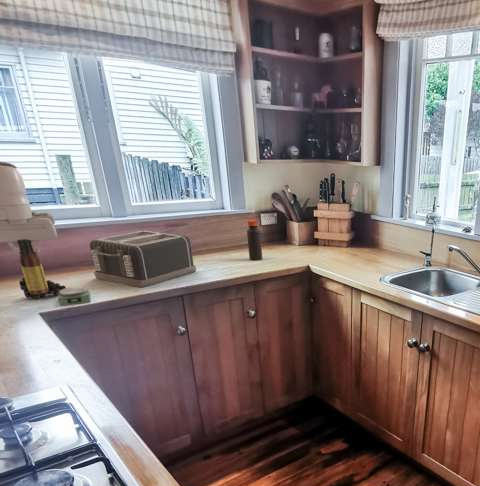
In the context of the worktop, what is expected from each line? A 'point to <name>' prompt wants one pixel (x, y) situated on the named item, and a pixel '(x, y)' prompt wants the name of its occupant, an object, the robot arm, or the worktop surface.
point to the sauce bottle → (32, 268)
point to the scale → (75, 298)
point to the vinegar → (254, 241)
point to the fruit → (52, 289)
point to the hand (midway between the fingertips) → (27, 253)
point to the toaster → (142, 257)
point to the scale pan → (73, 291)
